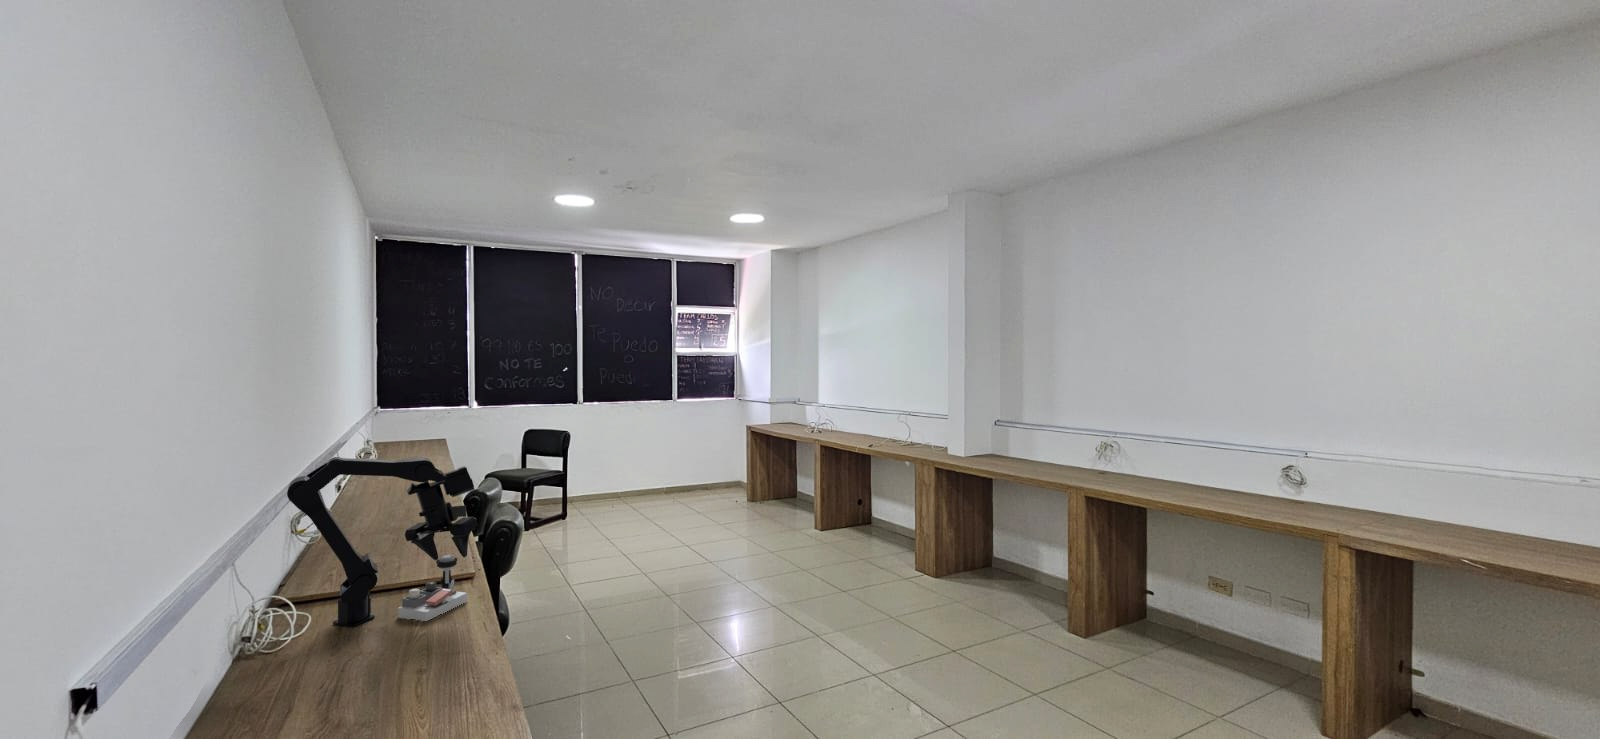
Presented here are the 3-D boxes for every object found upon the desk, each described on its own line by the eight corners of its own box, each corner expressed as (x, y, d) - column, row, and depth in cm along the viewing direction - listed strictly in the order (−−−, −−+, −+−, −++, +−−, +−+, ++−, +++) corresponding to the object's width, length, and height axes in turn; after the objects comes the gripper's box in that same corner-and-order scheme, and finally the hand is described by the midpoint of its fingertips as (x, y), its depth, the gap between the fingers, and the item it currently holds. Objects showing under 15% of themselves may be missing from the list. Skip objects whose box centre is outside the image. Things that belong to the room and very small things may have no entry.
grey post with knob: (435, 588, 195) (435, 553, 195) (456, 585, 198) (456, 551, 197) (436, 596, 189) (436, 560, 189) (458, 593, 192) (458, 557, 191)
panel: (427, 622, 172) (427, 598, 172) (398, 617, 174) (398, 594, 174) (468, 602, 186) (468, 580, 185) (440, 598, 188) (440, 576, 188)
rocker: (435, 605, 175) (434, 602, 175) (426, 604, 176) (425, 600, 176) (452, 592, 181) (452, 589, 180) (443, 591, 181) (443, 588, 181)
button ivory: (414, 600, 175) (414, 592, 175) (406, 599, 176) (406, 591, 176) (421, 597, 177) (421, 589, 177) (414, 595, 178) (414, 588, 178)
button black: (431, 592, 180) (431, 585, 180) (423, 591, 181) (423, 584, 181) (438, 589, 183) (438, 582, 183) (430, 588, 183) (430, 581, 183)
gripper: (483, 487, 186) (499, 540, 189) (426, 495, 190) (443, 546, 193) (454, 505, 175) (472, 561, 178) (395, 512, 180) (413, 566, 183)
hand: (450, 558), depth 183 cm, fingers open, 9 cm apart
